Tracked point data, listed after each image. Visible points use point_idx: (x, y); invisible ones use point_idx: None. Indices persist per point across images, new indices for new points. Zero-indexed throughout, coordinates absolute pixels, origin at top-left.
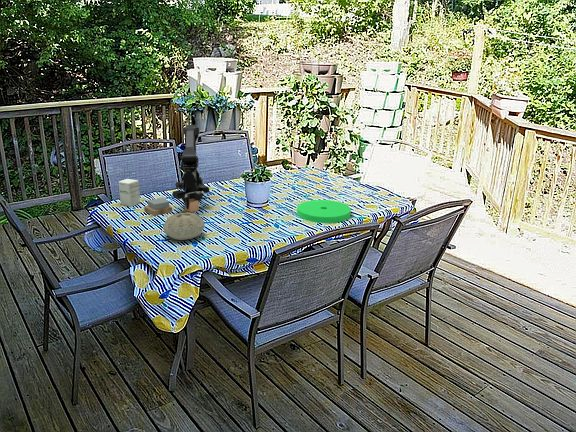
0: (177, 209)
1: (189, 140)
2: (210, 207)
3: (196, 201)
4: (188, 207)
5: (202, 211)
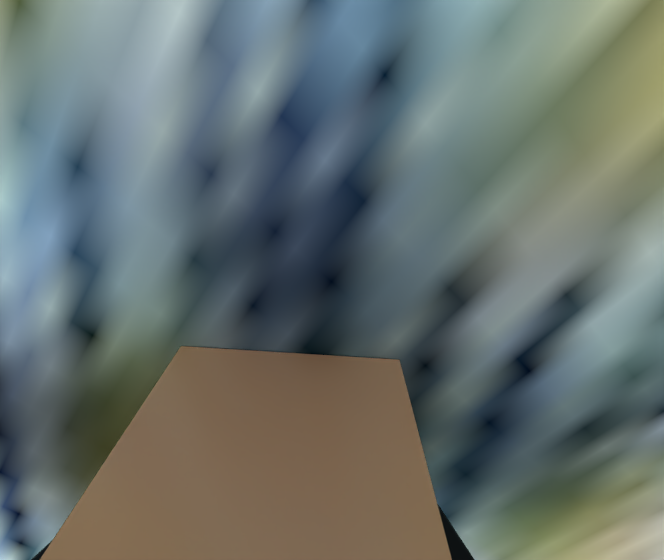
0: (21, 213)
1: None
2: (597, 517)
3: None
4: None
5: None
